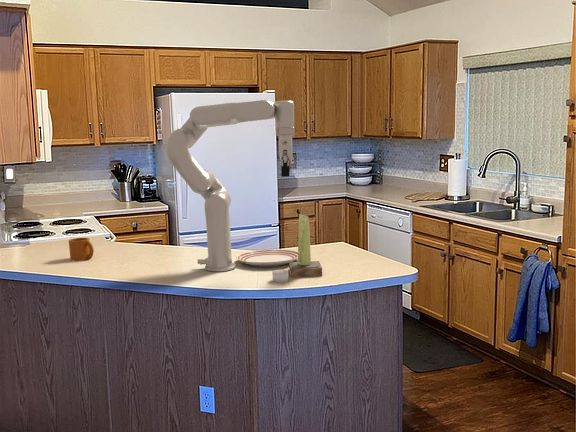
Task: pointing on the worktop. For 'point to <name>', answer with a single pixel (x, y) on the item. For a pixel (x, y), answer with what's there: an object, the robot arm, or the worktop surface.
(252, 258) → the dinner plate
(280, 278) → the white dome
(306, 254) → the tube
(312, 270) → the stand
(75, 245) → the mug
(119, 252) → the worktop surface
